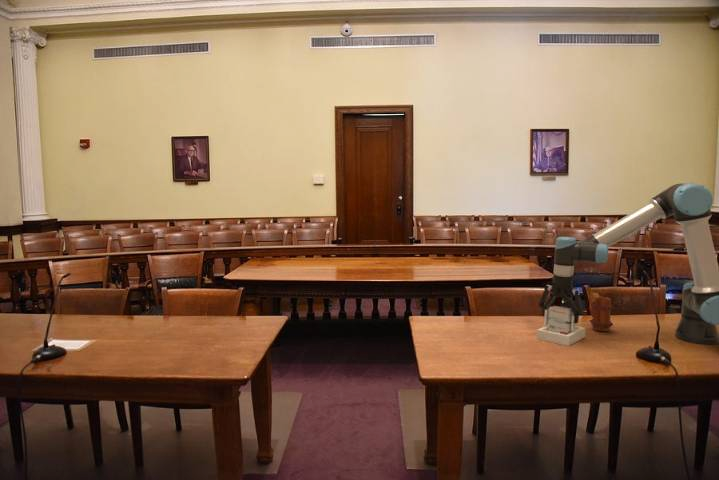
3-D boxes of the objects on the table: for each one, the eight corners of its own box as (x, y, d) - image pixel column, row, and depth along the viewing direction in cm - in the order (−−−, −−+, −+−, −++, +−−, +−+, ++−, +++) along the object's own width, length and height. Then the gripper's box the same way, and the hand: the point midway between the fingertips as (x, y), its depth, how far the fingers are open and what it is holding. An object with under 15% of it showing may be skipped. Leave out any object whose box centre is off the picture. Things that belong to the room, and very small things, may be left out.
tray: (585, 336, 206) (585, 327, 206) (568, 345, 194) (568, 336, 194) (554, 330, 215) (554, 321, 215) (536, 338, 203) (536, 329, 203)
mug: (615, 333, 211) (617, 298, 209) (596, 333, 211) (598, 298, 209) (599, 324, 225) (601, 291, 224) (581, 323, 225) (583, 291, 224)
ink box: (573, 336, 203) (574, 308, 202) (567, 339, 200) (568, 310, 199) (553, 332, 210) (554, 304, 208) (547, 334, 206) (548, 306, 205)
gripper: (596, 278, 197) (591, 332, 199) (540, 269, 213) (536, 319, 215) (588, 280, 191) (584, 335, 194) (532, 271, 208) (528, 323, 210)
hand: (559, 327), depth 205 cm, fingers open, 10 cm apart
